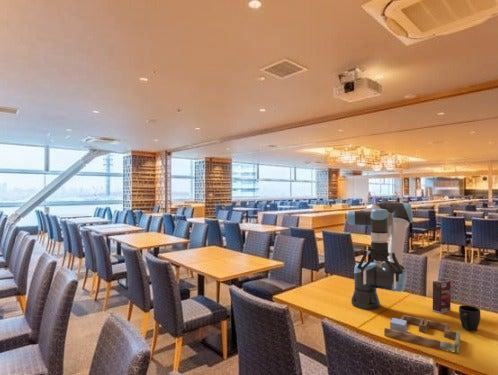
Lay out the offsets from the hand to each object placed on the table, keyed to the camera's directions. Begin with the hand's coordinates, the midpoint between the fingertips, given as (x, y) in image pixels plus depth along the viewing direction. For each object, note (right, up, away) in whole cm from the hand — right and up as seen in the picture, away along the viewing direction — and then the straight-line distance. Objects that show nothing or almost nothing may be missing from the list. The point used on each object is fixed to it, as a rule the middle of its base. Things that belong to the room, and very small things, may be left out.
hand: (379, 285), depth 153 cm
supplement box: (+40, -19, +17) cm, 48 cm away
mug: (+39, -19, -5) cm, 44 cm away
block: (+6, -19, -6) cm, 21 cm away
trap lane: (+16, -19, -9) cm, 26 cm away
